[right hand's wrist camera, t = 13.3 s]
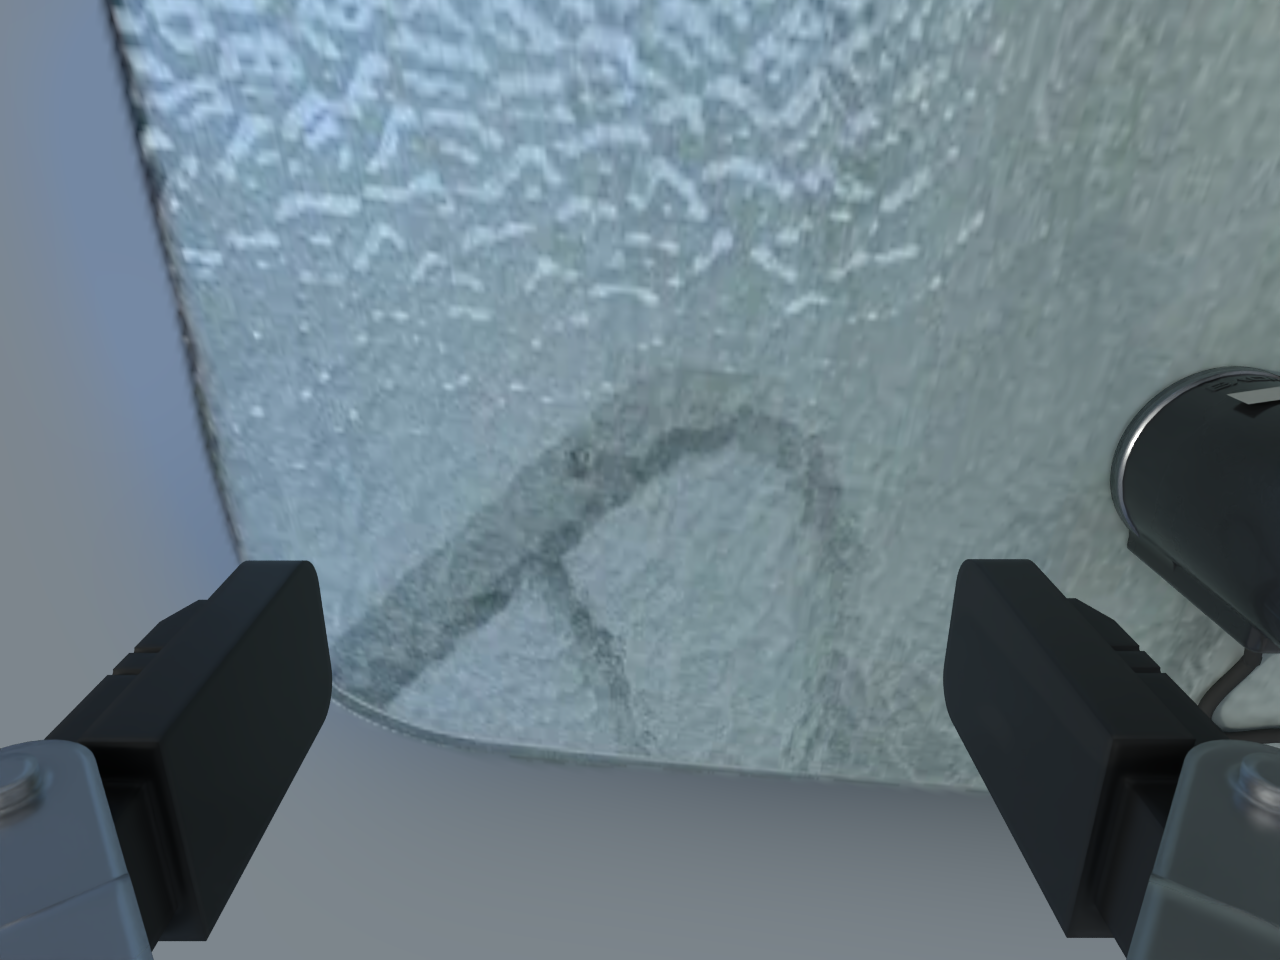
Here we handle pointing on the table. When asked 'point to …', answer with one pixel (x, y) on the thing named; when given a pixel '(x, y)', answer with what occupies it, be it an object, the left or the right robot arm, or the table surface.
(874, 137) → the table surface
